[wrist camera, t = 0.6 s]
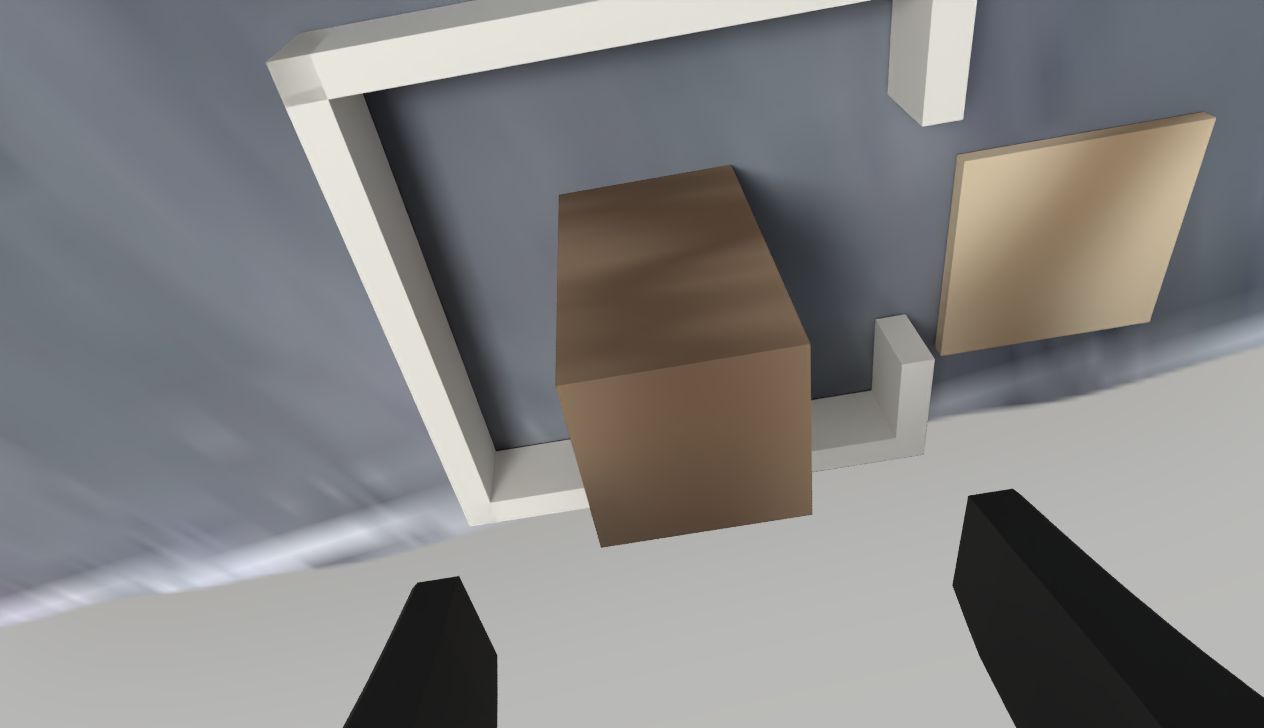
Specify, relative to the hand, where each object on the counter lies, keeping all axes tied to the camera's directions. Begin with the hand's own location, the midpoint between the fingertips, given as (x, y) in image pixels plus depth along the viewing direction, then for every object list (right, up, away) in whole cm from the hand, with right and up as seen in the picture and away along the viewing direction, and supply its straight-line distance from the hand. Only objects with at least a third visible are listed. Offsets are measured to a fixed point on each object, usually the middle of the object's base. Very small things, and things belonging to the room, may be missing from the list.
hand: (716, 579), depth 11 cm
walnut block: (-1, +6, +8) cm, 10 cm away
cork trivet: (+9, +6, +8) cm, 14 cm away
